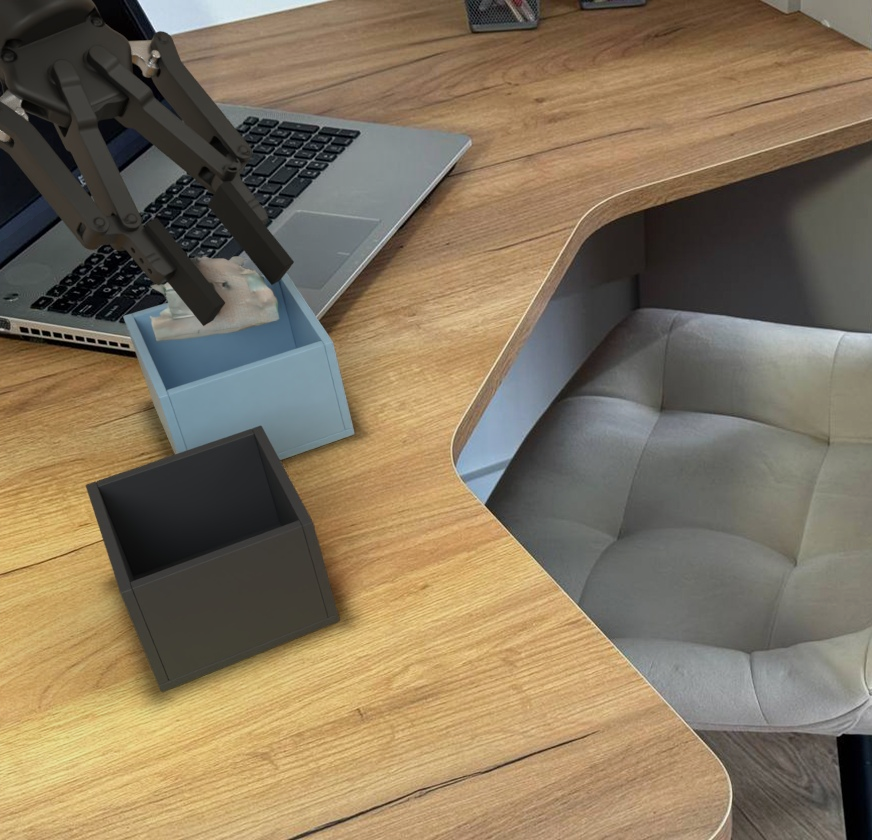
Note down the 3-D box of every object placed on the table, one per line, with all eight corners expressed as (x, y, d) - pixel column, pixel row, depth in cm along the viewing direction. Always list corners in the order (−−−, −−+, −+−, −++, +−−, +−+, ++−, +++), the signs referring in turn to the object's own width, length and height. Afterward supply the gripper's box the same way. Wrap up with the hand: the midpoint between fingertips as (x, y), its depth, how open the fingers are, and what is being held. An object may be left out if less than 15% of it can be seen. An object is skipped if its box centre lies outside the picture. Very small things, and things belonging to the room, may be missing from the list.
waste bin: (161, 693, 71) (120, 593, 67) (124, 581, 79) (85, 484, 74) (340, 621, 75) (313, 521, 70) (289, 521, 82) (261, 424, 78)
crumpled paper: (284, 328, 85) (258, 235, 81) (157, 351, 84) (125, 258, 80) (281, 295, 88) (257, 203, 84) (160, 317, 87) (129, 225, 83)
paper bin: (191, 492, 85) (158, 397, 80) (154, 405, 93) (122, 315, 88) (355, 434, 89) (333, 341, 84) (306, 356, 97) (283, 267, 92)
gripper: (114, -16, 89) (331, 257, 91) (-137, 78, 78) (117, 387, 80) (141, -86, 83) (373, 206, 85) (-126, 4, 72) (147, 339, 74)
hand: (248, 293), depth 82 cm, fingers closed on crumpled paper, 5 cm apart
